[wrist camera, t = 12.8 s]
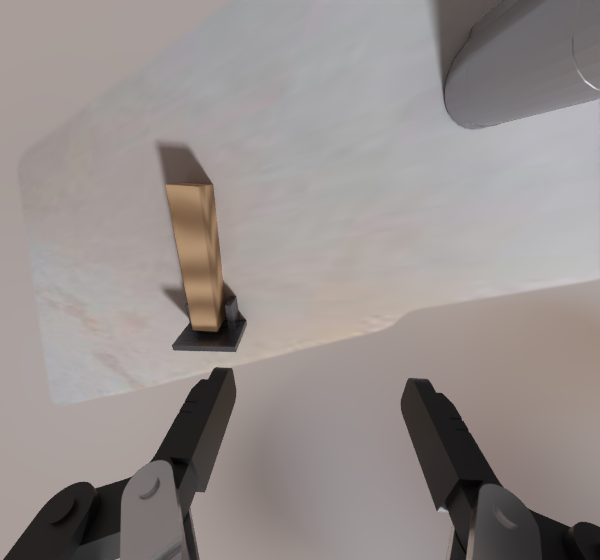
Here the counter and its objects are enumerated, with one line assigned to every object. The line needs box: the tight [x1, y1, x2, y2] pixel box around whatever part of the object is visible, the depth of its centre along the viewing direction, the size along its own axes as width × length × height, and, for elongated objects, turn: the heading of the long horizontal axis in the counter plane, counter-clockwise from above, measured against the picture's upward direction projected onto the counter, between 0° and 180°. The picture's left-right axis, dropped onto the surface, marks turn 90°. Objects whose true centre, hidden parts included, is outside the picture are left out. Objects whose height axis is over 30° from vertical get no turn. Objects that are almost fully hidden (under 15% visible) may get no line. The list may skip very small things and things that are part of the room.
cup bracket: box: [172, 296, 247, 352], centre depth 37 cm, size 6×10×7 cm, turn 90°
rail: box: [166, 183, 226, 332], centre depth 34 cm, size 22×4×5 cm, turn 177°
